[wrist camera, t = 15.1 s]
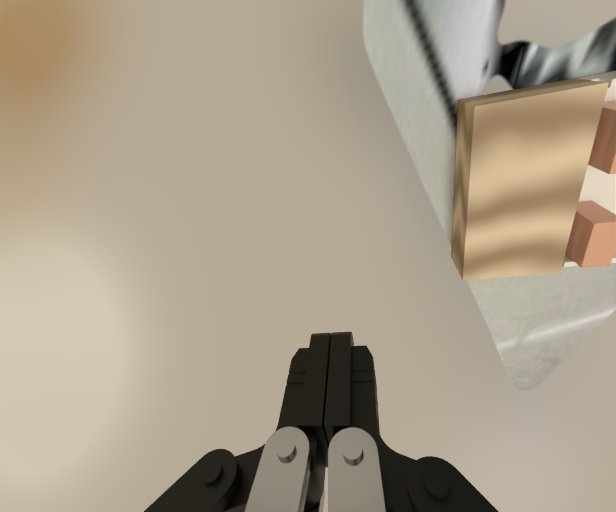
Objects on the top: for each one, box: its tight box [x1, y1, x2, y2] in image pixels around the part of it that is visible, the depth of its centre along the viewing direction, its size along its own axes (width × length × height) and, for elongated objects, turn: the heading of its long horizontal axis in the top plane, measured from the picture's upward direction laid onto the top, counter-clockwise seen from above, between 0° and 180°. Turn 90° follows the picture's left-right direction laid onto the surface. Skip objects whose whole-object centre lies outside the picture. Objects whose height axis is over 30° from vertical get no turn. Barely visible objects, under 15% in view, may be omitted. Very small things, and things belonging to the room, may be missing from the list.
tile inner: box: [588, 100, 616, 174], centre depth 28 cm, size 5×5×2 cm
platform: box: [451, 79, 609, 280], centre depth 32 cm, size 18×10×5 cm, turn 11°
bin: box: [562, 71, 616, 267], centre depth 30 cm, size 18×8×4 cm, turn 11°
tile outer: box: [565, 200, 616, 268], centre depth 33 cm, size 5×5×2 cm
